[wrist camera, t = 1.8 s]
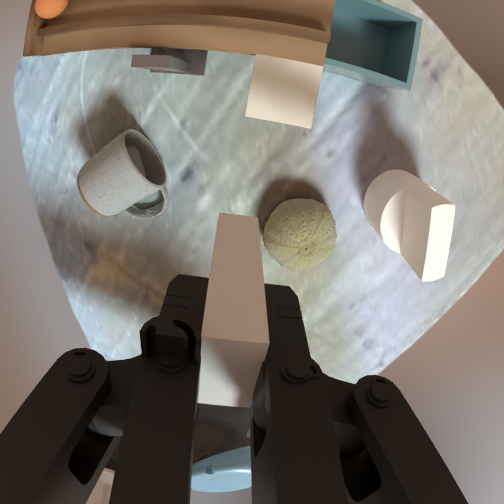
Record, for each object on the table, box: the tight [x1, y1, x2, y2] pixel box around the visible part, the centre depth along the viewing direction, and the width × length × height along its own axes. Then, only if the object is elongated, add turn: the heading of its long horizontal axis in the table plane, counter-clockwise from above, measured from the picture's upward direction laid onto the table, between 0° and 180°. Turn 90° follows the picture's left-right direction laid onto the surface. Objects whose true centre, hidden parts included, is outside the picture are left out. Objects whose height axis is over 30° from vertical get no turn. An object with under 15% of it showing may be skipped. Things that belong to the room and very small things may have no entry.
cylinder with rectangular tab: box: [363, 169, 455, 281], centre depth 34 cm, size 9×9×12 cm
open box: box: [323, 0, 423, 90], centre depth 27 cm, size 8×10×8 cm
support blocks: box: [131, 48, 208, 76], centre depth 23 cm, size 14×24×12 cm, turn 81°
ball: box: [35, 0, 68, 19], centre depth 17 cm, size 3×3×3 cm
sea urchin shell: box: [263, 198, 337, 271], centre depth 40 cm, size 9×8×8 cm
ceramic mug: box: [77, 129, 168, 219], centre depth 34 cm, size 11×8×8 cm
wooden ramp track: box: [23, 0, 335, 129], centre depth 19 cm, size 15×26×3 cm, turn 81°
